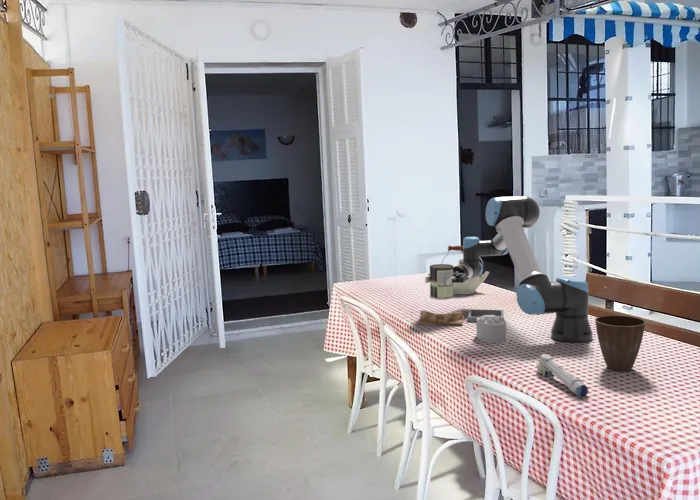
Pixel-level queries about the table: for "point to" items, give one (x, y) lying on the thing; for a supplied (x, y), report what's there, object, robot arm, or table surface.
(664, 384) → the table surface
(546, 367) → the toothbrush head
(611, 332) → the plant pot
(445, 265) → the coffee can
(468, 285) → the kettle
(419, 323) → the brown flat cloth piece
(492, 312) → the gray square tray
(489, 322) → the lumpy-topped squat cylinder
